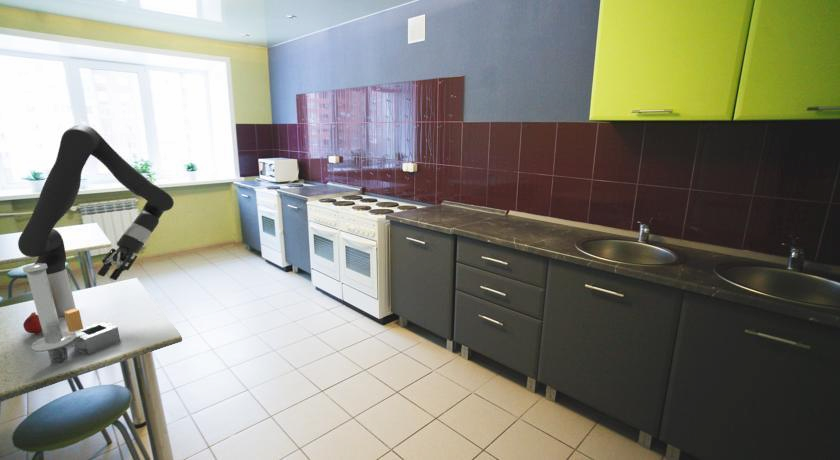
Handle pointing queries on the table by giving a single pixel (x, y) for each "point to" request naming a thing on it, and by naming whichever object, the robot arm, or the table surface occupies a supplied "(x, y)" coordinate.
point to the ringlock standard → (54, 338)
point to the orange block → (73, 320)
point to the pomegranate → (32, 324)
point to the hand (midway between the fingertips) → (106, 277)
